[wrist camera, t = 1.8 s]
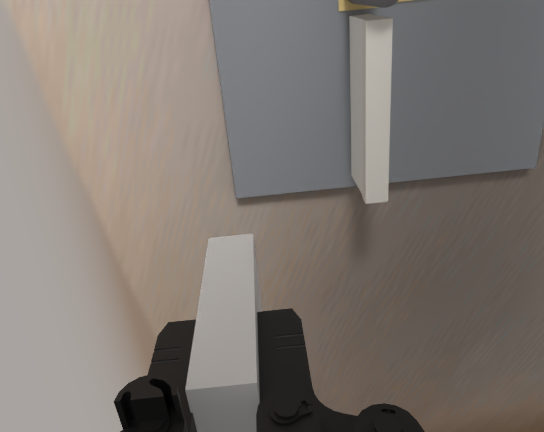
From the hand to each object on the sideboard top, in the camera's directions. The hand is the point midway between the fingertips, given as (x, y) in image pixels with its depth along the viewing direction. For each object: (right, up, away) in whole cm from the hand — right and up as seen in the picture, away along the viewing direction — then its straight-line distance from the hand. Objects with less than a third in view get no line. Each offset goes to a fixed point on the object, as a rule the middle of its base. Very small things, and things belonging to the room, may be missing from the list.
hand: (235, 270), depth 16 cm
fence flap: (+7, +10, +14) cm, 19 cm away
